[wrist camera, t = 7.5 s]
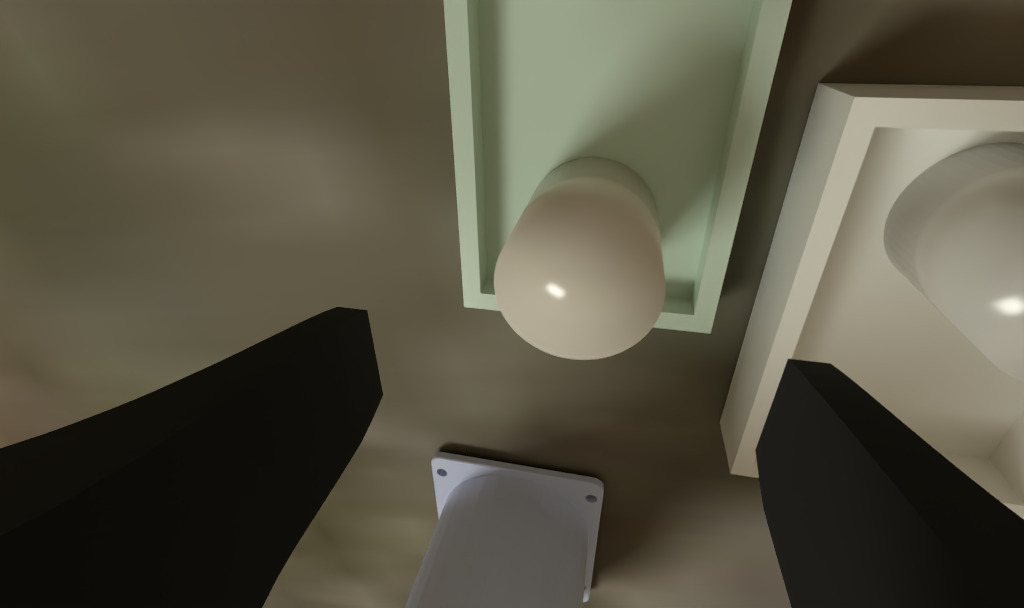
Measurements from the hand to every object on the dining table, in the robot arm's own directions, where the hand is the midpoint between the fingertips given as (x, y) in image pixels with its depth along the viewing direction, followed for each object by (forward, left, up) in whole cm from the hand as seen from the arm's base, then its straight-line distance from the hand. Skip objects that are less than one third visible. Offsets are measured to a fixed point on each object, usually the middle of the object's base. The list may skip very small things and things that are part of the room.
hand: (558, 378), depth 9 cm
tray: (+3, 0, -8) cm, 9 cm away
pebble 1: (0, 0, -8) cm, 8 cm away
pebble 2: (+1, -10, -8) cm, 13 cm away
